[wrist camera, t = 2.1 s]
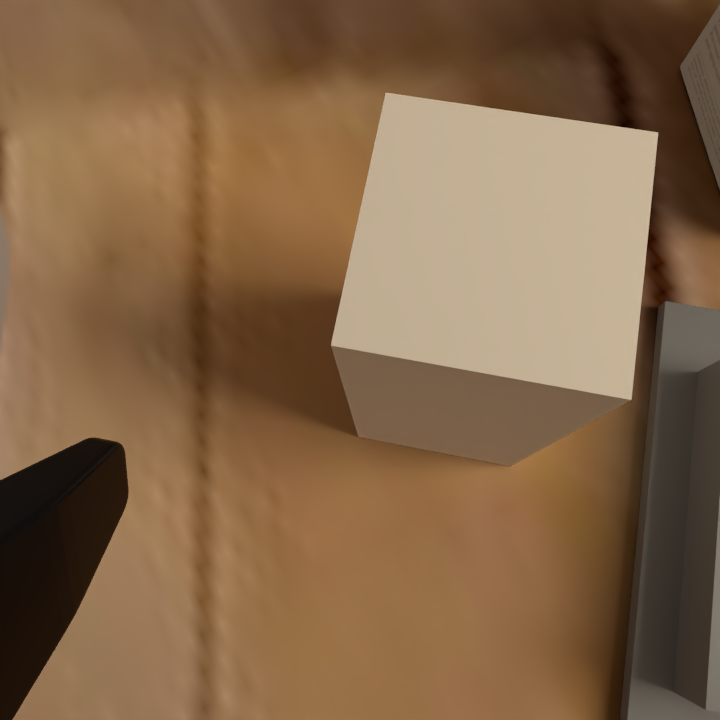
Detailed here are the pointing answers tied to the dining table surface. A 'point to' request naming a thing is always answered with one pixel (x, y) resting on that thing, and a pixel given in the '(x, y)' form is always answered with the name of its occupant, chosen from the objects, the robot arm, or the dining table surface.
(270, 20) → the dining table surface
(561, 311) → the cream block
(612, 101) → the dining table surface
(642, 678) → the tray
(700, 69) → the supplement box
